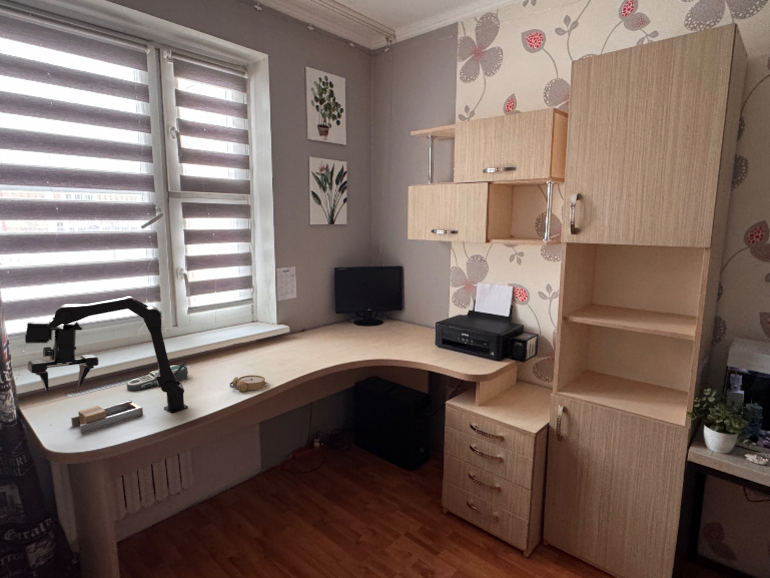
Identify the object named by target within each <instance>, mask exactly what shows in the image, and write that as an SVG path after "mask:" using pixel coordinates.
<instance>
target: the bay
mask: <svg viewBox="0 0 770 578" xmlns="http://www.w3.org/2000/svg"><path fill="white" fill-rule="evenodd" d="M101 408H102V407H101ZM102 409H103V410H105V411H106V417H105V418H102V419H99V420H95V421H92V422H89V423H85V424H82V425H80V420H79V414H78V415H75V416H72V417H70V420H71V427H75V426H76V427H77V426H79V427H80V434H81V435H85V434H88V433H90V432H91V433H92V432H93V431H97V430H101V429H104V428H107V427H110V426H113V425H117V424H120V423H123V422H126V421H129V420H132V419H135V418H138V417H141V416H143V415H144V411H143V410H144V409H143V406H139V405H138V404H136V403H134V402H133V400H131V399H130V400H128V401H124V402H121V403H117V404H113V405H110V406H106V407H103V408H102Z"/></svg>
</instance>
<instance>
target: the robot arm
mask: <svg viewBox="0 0 770 578" xmlns="http://www.w3.org/2000/svg"><path fill="white" fill-rule="evenodd" d="M123 310H129V311H130V312H132V313H134V314H135V315H137V316H139V317H141V318H142V319H143V321H144V324H145V325H146V328H147V330H148V332H149V334H150V337H151V342H152V345H153V349H154V353H155V357H156V361H157V365H158V370H159V372H156V373H155V376H156V379H157V384H158V385H157V387H158V389H161V391H162V392H163V393H166V404H167V405H166V406H163V410H165V411H167V412H168V413H170V414H173V413H176V412H180V411H182V410H185V409H189V406H188V405H186V404H185V399H184V393H185V388H184V386H183V384H182V382H181V381H180V380H179V381H178V380H176V378H175V376H174V374H173V371H172V369H171V367H170V366H171V365H170V363H169V358H168V353H167V349H166V345H165V341H164V337H163V333H162V314H161V312H160V310H159V308H158V307H156V306H153V305H150V306H149V305H147V304H146V303H144V302H142V301H139V300H137V299H136V298H134V296H131V295H129V296H128V295H127V296H125V297H120V298H115V299H109V300H102V301H97V302H92V303H65V304H61V305H60V306H58V308H57V309H56V311H55V313H54V316H53V318H51V319H50V320H49V321H48V322H35V321H30V322H28V323H27V325H26V327H27V328H26V333H25V336H24V337H25V339H24V340H25V344H26V345H27V344H28V345H29V344H48V343H49V342H50V341H52V340H53V338H54V344H53V348H52V347H51V346H46V347H45V346H44V347H43V348H42V356H43V357H44V358H48V357H49V360H51V361H45V360H44V359H34V360H32V359H31V360H29V361H28V362H27V370H28V371H29V372H30V373H31V374H35V375H36V376H39V378H40V380H41V381H42V384H43V387H44V389H45V391H46V392H48V391H49V386H50V385H49V372H48V371H47V370H48V369H49V368H58V367H60V368H61V367H65V366H66V367H67V366H74V365H78V366H79V371H78V379H77V383H78V384H77V386H78V387H81V386H82V384H83V382H84V380H85V378H86V377H87V375H88V374H89V372H90V371H91V370H92V369H94V368H95V367H97V366H99V363H100V362H99V357H97V356H95V355H94V354H83V355H82V354H81V355H80V357H79V358H75V357H76V351H77V346H76V338H77V336H76V335H77V331H82V330H83V325H82V324H80V323H79V322H78V321H80V320H83V319H85V318H88V317H92V316H96V315H100V314H101V315H102V314H106V313H107V314H108V313H112V312H117V311H123ZM72 323H73V324H72ZM62 325H63V326H62ZM53 334H54V335H53ZM53 336H54V337H53Z"/></svg>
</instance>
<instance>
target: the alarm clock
mask: <svg viewBox="0 0 770 578" xmlns="http://www.w3.org/2000/svg"><path fill="white" fill-rule="evenodd" d="M266 384H268V382H267V381H266V377H264V376H261V375H256V374H253V375H252V374H251V375H249V374H247V375H244V376H243V375H242V376H240V377H238V376H235V377H234V378H233V380H232V381H231V382H230V383H229V387H230V388H231V389H237V391H239V392H241V393H244V392H246V391H258V390H262V389H263V388H264V387H265V385H266Z"/></svg>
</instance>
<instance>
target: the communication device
mask: <svg viewBox="0 0 770 578" xmlns="http://www.w3.org/2000/svg"><path fill="white" fill-rule="evenodd" d="M186 363H187V361H186V360H184V361H183V362H182V364H181V363H180V364H178V365H170V367H171V369H172V371H173V374H174V376H175V378H176V380H178V381H179V382H180V381H181V380H182V381H183V380H185V379H187V378H188V376H189V375H188V374H189V371H188V366H187V367H186V366H185V364H186ZM156 372H159V369H156V370H153V371H150V372H149V374H147V375H143V376H140V377H137V378H134V379H131V380H129V381H128V382H127V383H126V389H127V390H128V391H131V392H136V391H142V390H145V389H149V388H152V387H155V386H158V384H157V379H156V376H155V373H156Z"/></svg>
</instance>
